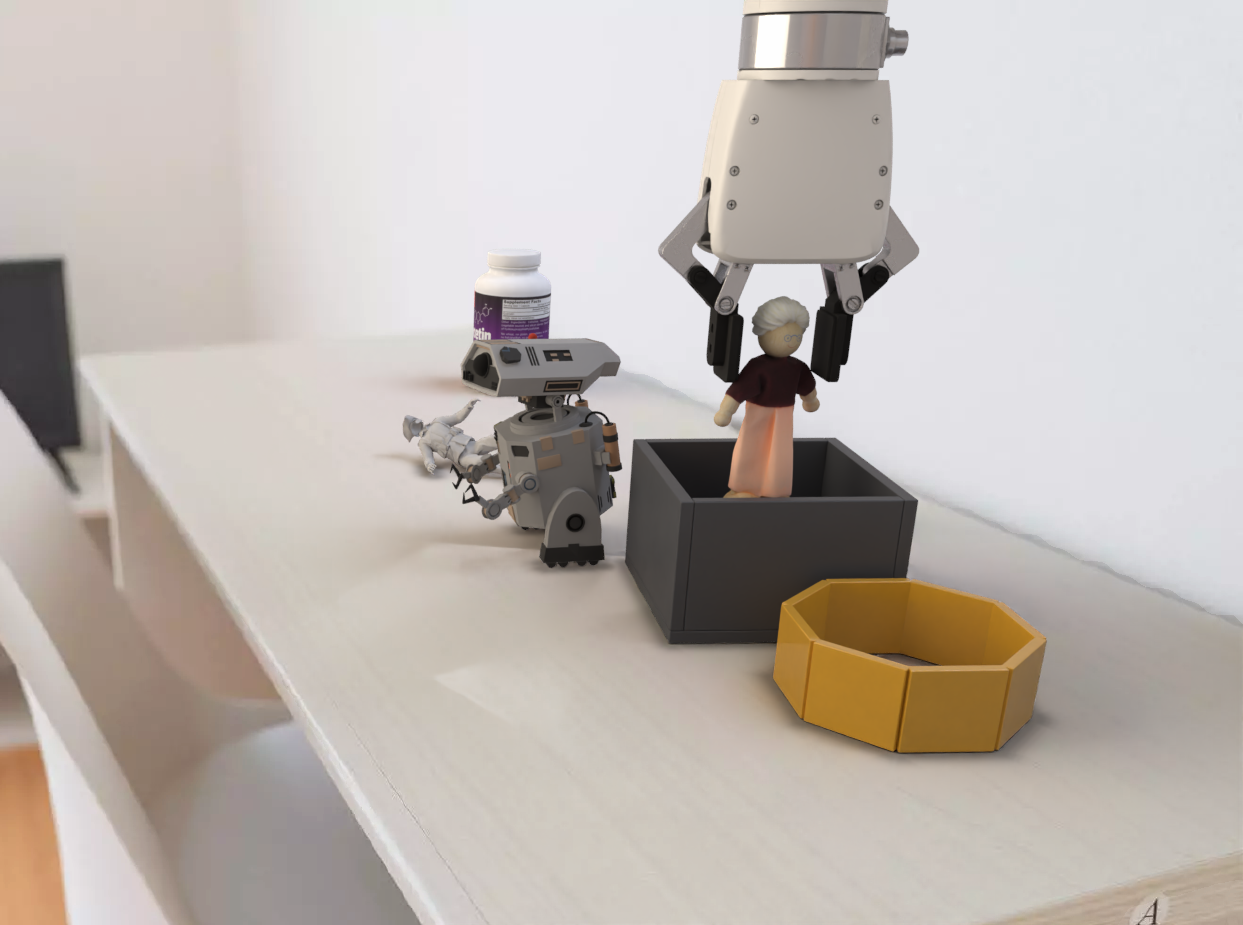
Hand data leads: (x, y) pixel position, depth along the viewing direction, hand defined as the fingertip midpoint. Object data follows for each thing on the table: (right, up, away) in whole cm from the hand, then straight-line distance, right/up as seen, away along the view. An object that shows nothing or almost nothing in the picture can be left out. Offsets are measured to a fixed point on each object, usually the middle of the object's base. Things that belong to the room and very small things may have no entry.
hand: (774, 374), depth 77 cm
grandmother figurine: (0, -8, +3) cm, 8 cm away
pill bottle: (-10, +7, +61) cm, 62 cm away
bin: (0, -14, +5) cm, 15 cm away
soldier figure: (-17, -3, +33) cm, 37 cm away
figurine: (-13, -10, +14) cm, 22 cm away
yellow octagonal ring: (+4, -19, -8) cm, 21 cm away
